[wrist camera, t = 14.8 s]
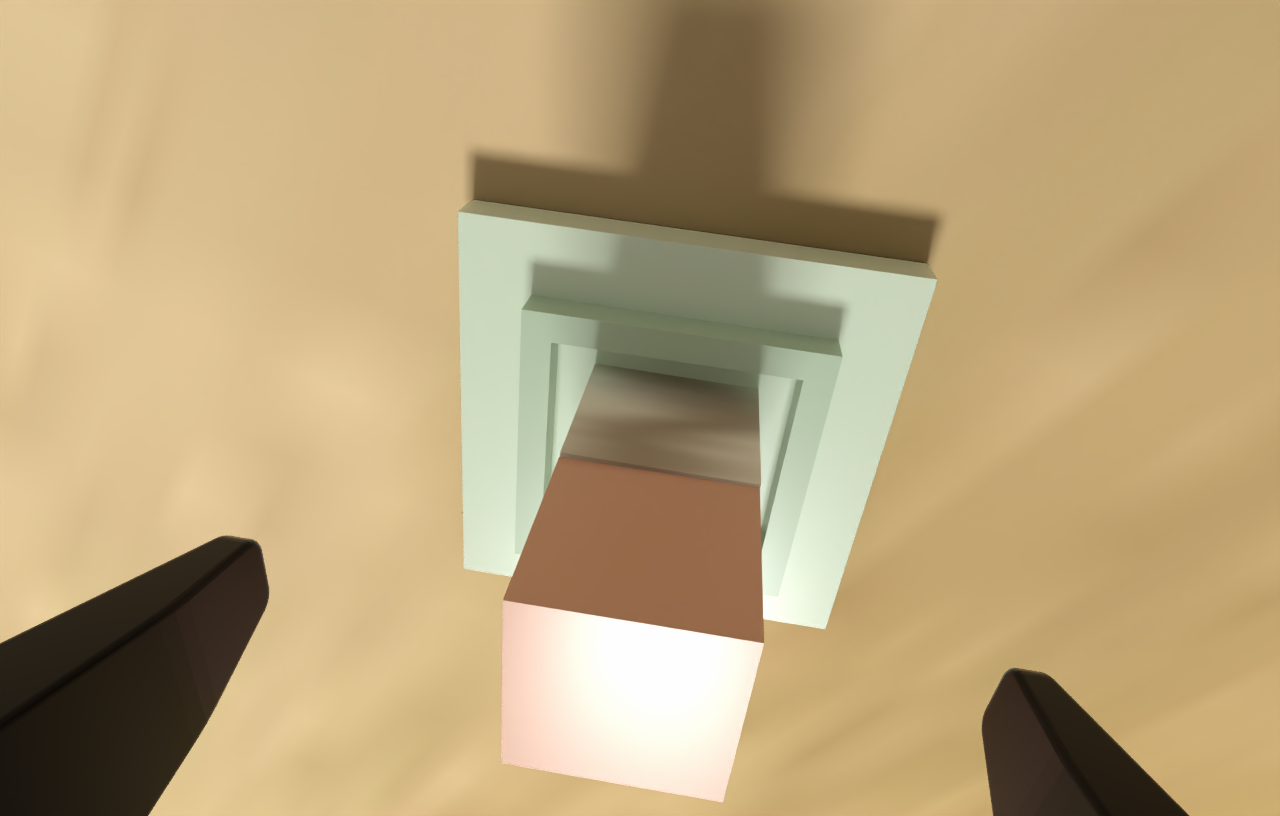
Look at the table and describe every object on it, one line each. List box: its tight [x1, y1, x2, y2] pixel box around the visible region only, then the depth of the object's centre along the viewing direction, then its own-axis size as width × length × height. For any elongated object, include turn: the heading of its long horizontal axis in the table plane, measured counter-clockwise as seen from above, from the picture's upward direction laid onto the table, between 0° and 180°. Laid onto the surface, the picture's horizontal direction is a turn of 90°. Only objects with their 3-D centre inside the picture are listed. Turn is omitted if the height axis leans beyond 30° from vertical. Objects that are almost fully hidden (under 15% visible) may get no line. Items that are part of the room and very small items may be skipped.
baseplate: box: [458, 200, 938, 629], centre depth 22 cm, size 12×12×2 cm
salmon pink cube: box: [501, 457, 764, 802], centre depth 16 cm, size 4×4×4 cm
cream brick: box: [560, 363, 761, 488], centre depth 20 cm, size 4×4×4 cm
